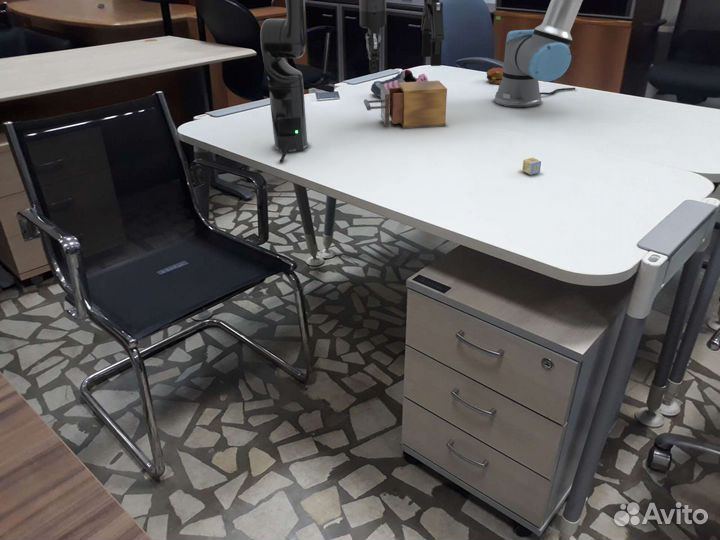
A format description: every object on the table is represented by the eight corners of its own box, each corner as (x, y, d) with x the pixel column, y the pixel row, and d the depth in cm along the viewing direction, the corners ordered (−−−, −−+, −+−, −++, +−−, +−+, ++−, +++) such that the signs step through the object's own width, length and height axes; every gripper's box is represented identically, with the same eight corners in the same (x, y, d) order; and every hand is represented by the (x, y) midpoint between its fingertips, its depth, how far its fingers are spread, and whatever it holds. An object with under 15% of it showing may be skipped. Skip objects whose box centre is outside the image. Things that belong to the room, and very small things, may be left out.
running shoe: (382, 90, 212) (382, 60, 206) (438, 103, 195) (439, 70, 190) (365, 95, 206) (364, 64, 201) (420, 108, 190) (421, 75, 184)
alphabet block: (529, 175, 138) (531, 163, 136) (521, 170, 140) (523, 159, 139) (540, 173, 139) (541, 161, 137) (531, 168, 141) (533, 157, 140)
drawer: (367, 126, 172) (366, 95, 167) (363, 118, 180) (363, 87, 175) (423, 123, 173) (424, 92, 168) (417, 115, 181) (417, 85, 176)
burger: (509, 78, 224) (510, 66, 222) (513, 84, 216) (515, 71, 214) (483, 78, 224) (484, 66, 222) (487, 84, 216) (488, 72, 214)
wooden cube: (403, 128, 172) (404, 90, 167) (397, 118, 182) (398, 82, 176) (445, 126, 173) (447, 88, 168) (437, 116, 183) (438, 80, 177)
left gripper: (357, 6, 165) (358, 68, 174) (361, 12, 154) (363, 78, 163) (382, 5, 165) (383, 67, 174) (389, 11, 154) (389, 76, 163)
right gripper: (412, -22, 168) (410, 53, 179) (429, -15, 147) (426, 70, 158) (437, -23, 168) (434, 52, 179) (458, -16, 147) (453, 69, 158)
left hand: (373, 72), depth 168 cm, fingers closed
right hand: (430, 61), depth 168 cm, fingers open, 13 cm apart
